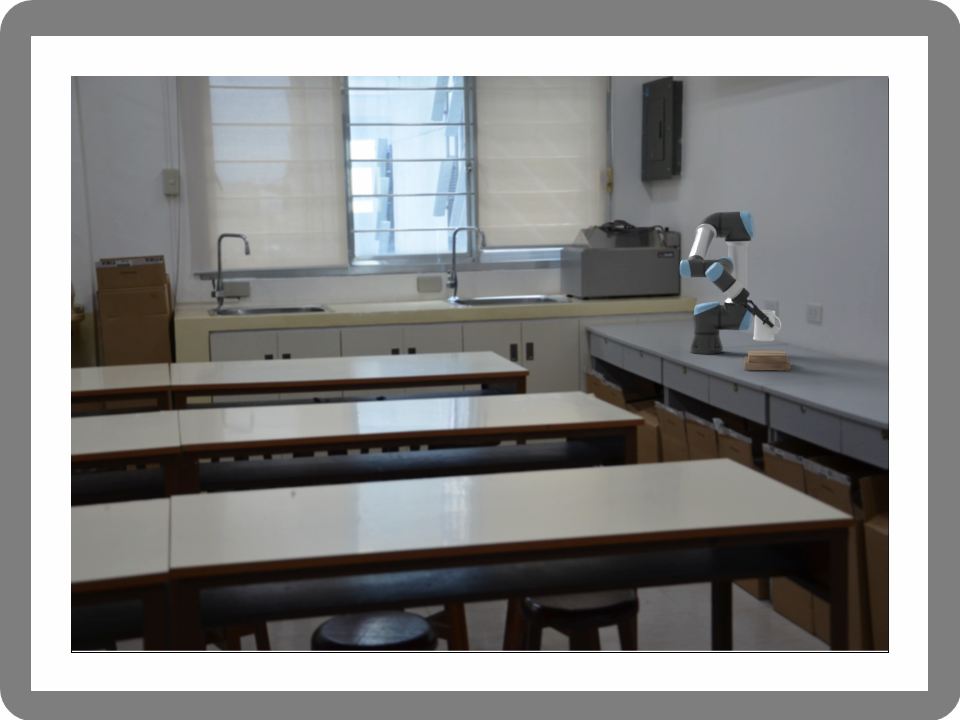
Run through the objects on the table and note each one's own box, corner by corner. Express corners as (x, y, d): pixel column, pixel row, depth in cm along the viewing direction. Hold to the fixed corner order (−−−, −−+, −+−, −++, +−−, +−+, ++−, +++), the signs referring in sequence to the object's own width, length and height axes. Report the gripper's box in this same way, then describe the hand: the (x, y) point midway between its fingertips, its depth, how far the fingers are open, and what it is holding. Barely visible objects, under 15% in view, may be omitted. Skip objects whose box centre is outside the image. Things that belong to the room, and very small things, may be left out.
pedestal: (744, 363, 412) (744, 349, 411) (788, 363, 408) (788, 350, 407) (744, 370, 394) (745, 356, 393) (790, 371, 390) (791, 356, 389)
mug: (785, 340, 397) (786, 312, 394) (772, 343, 392) (774, 314, 389) (761, 336, 406) (762, 308, 404) (748, 339, 401) (750, 311, 398)
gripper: (725, 297, 408) (763, 334, 409) (735, 302, 387) (774, 340, 388) (738, 285, 407) (776, 321, 408) (748, 288, 386) (788, 327, 387)
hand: (775, 330), depth 398 cm, fingers closed on mug, 9 cm apart
